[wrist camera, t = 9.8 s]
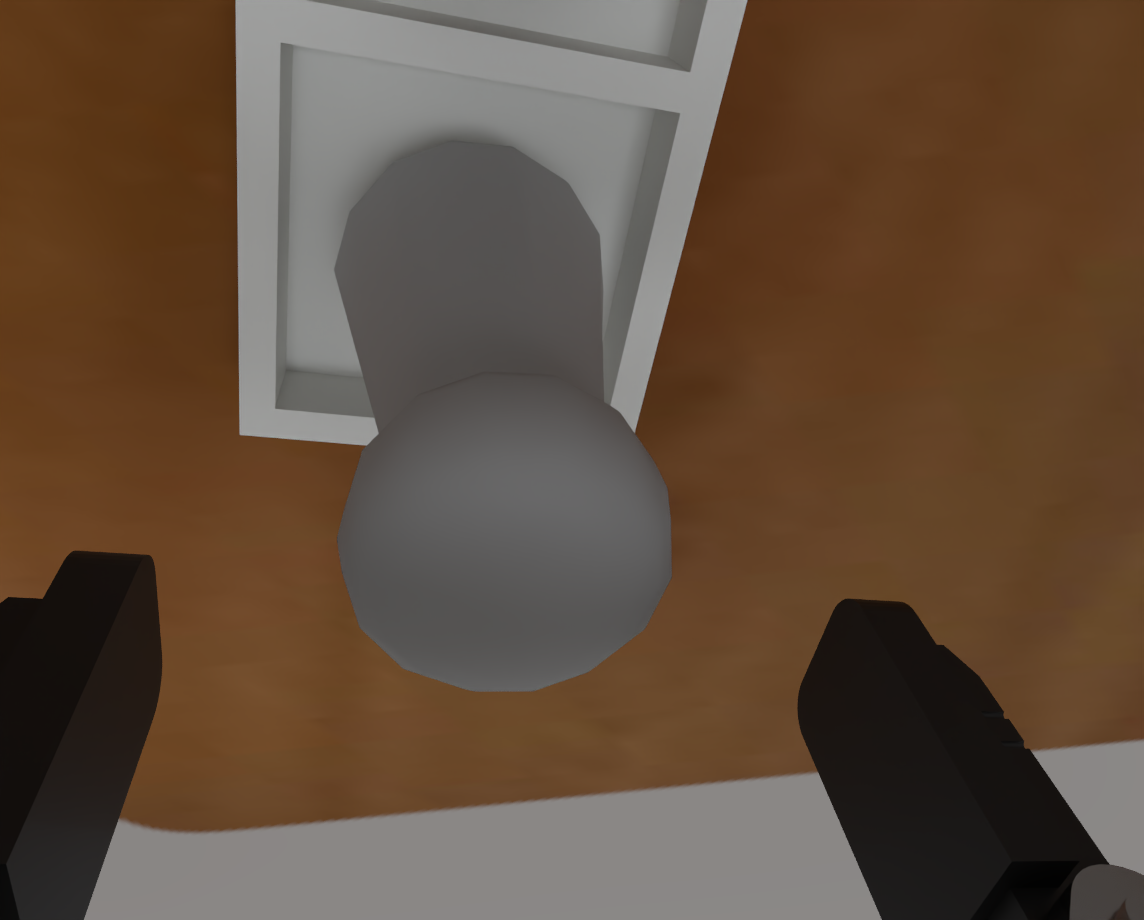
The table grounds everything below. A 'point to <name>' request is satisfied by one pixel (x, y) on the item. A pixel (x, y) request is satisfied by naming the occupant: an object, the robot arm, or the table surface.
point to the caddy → (469, 114)
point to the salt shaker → (491, 430)
